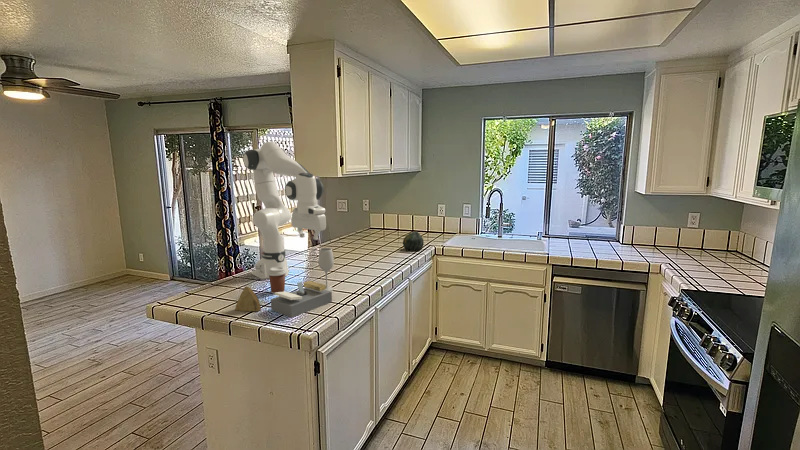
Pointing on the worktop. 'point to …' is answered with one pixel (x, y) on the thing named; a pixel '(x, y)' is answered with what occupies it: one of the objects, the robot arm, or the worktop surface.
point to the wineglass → (326, 262)
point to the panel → (301, 302)
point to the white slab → (288, 295)
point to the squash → (413, 241)
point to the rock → (248, 301)
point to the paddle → (300, 288)
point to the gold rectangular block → (314, 285)
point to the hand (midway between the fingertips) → (308, 238)
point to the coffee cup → (277, 279)
